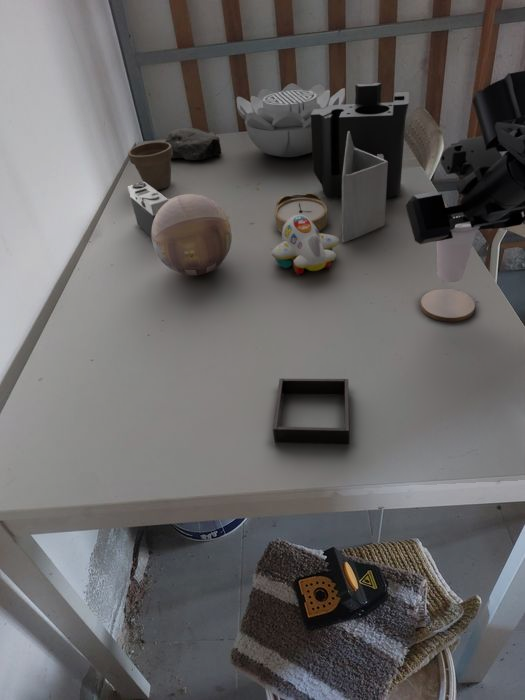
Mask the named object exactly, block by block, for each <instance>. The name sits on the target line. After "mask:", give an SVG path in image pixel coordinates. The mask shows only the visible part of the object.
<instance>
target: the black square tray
mask: <svg viewBox="0 0 525 700" xmlns="http://www.w3.org/2000/svg"><path fill="white" fill-rule="evenodd" d="M285 395H344V427H320V426H319V427H316V426H315V427H313V426H312V427H311V426H281V423H282V414H283V406H284V398H285ZM349 396H350V393H349V378H279V381H278V388H277V395H276V402H275V403H276V404H275V412H274V418H273V425H272V433H273V441H274V443H276V444H277V443H281V444H284V443H285V444H322V445H323V444H324V445H350V397H349Z"/></svg>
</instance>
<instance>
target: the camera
mask: <svg viewBox="0 0 525 700" xmlns="http://www.w3.org/2000/svg"><path fill="white" fill-rule="evenodd" d="M127 190H128V193H129V196H130V197H129V198H130V201H131V204H132V208H133V212H134V215H135V220H136V224H137V226H138V227H139V228H140V229H141V230H143V231H144V233H146V235H148V236H149V237H150V239H152V232H151V231H152V225H153V221H154V218H155V216H156V214H157V212H158V211H159V209H160V208H161V207H162V206H163V205H164V204H165V203H166V202H167V201H169V200H170V199H171V198H167V197H166V196H164V195H163V194H162V193H160V192H159V190H155V189H154V188H152V187H151V186H150V185H148V184H147V183H146V182H143V181H140V182H136V183H134V184H131V185H128V186H127Z"/></svg>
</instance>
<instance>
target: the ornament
mask: <svg viewBox="0 0 525 700" xmlns="http://www.w3.org/2000/svg"><path fill="white" fill-rule="evenodd" d="M169 199H170V200H169V201H167V202H166V203H165V204H164V205H163V206H162V207H161V208H160V209H159V211H158V212H157V214H156V216H155V218H154V221H153V225H152V231H151V232H152V238H151V243H152V246H153V249H154V251H155V253H156V255H157V257H158V258H159V260H160V261H161V262H162V263H163V264H164V265H165V266H166V267H167V268H169V269H170V270H172V271H174V272H176V273H178V274H180V275H185V276H201V275H204V274H207V273H211V272H212V271H214V270H215V269H217V268H218V267H219V266H221V264H222V263H223V262H224V261H225V260H226V258H227V256H228V254H229V252H230V250H231V245H232V240H233V239H232V238H233V235H232V234H233V233H232V226H231V223H230V220H229V218H228V215H227V213H226V212H225V210H223V208H222V207H221V206H220V205H219V204H218V203H217V202H215V201H214V200H212V199H211V198H209V197H207V196H204V195H201V194H196V193H183V194H180V195H176V196H174V197H172V198H169Z"/></svg>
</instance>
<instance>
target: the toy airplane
mask: <svg viewBox="0 0 525 700" xmlns="http://www.w3.org/2000/svg"><path fill="white" fill-rule="evenodd" d="M281 241H282V242H280V244H277V246H275V247H274V248H273V250H272V252H271V256H272V257H273V258H274V260H275V262H277V264H278V265H279V266H281V267H283V268H286V269H287V268H291V267H292V265H293V270H294V272H295V274H296V275H303V274H304V269H305V270H308V271H311V272H317V271H320V270H322V269H327V268H329V267H330V266H331V262H332V261H334V260H335V259H336V256H337V255H336V252H335V251H334V250H333V248H335V247H337V246H338V244H339V242H340V240H339V238H338V237H337V236H335V235H334V234H333V235H332V234H328V233H320V231H319V232H318V229H317V228H316V226H315V225H314V223H313V222H312V221H311V220H310V219H309V218H307V217H306V216H304V215H294V216H292V217H290V218H289V219H288V220H287V221H286V223H285V224H284V226H283V230H282V232H281Z"/></svg>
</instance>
